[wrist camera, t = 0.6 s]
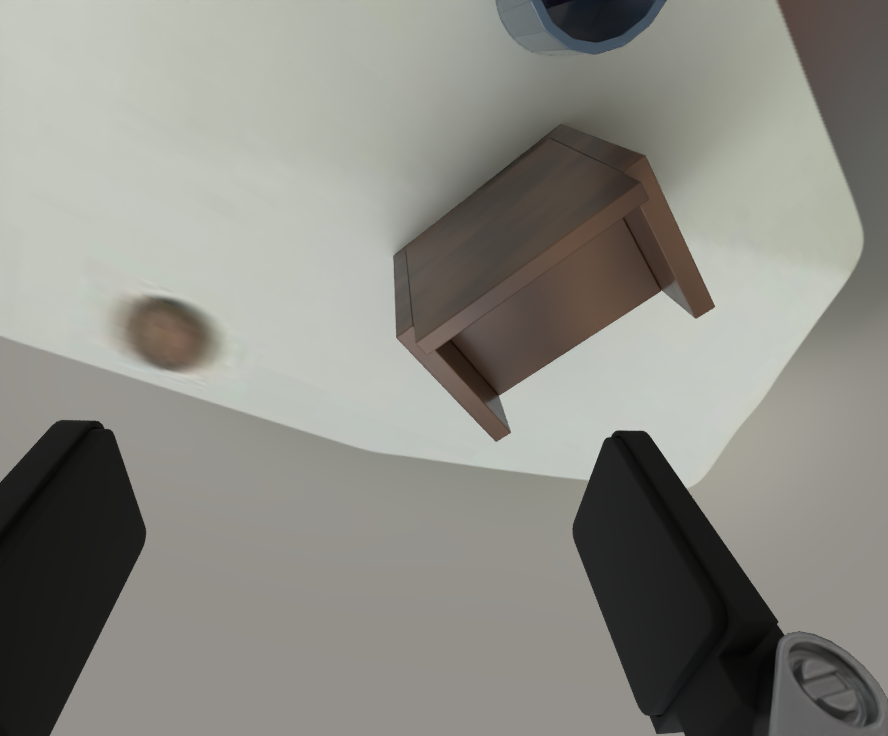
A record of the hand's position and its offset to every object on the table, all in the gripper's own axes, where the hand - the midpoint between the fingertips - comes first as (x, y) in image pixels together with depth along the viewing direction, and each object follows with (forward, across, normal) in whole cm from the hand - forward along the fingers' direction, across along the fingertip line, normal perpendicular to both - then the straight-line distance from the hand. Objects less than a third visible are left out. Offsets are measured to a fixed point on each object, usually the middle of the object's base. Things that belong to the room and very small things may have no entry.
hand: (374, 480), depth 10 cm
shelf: (+29, -10, +4) cm, 31 cm away
